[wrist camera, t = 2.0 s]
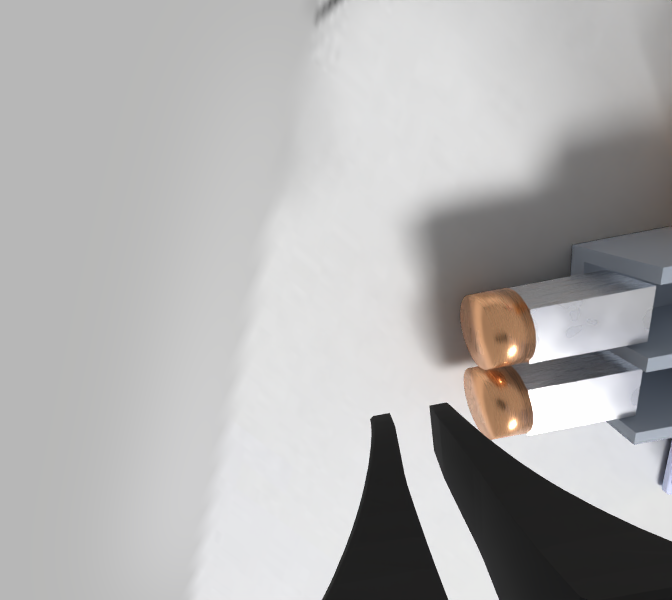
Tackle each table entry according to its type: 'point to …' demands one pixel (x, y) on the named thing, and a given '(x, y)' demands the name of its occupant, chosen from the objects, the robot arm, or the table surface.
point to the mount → (665, 327)
